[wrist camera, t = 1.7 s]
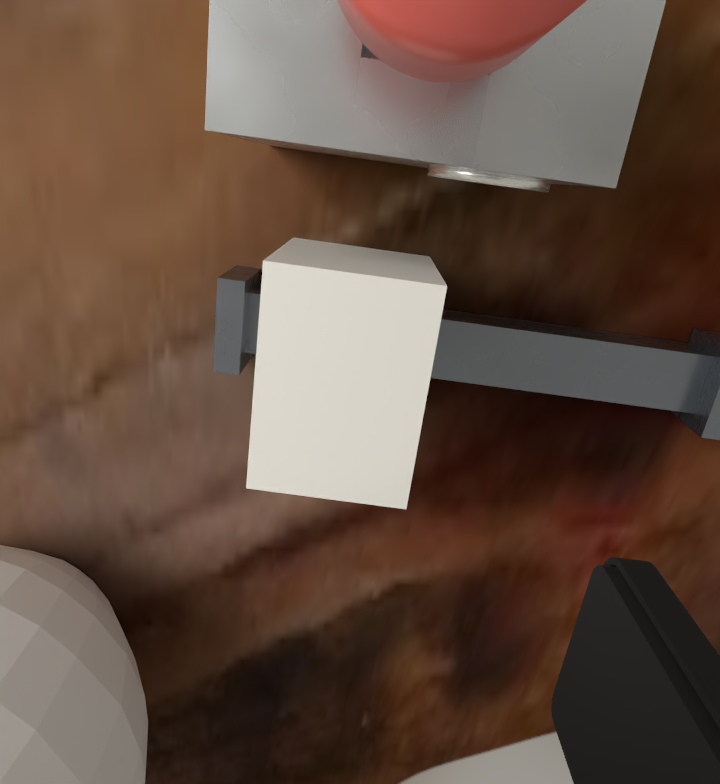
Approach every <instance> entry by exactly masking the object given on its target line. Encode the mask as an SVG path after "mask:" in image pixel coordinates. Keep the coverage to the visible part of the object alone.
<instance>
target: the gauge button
mask: <svg viewBox="0 0 720 784" xmlns="http://www.w3.org/2000/svg"><path fill="white" fill-rule="evenodd" d="M337 1H338V3H339V6H340V8H341V10H342V13H343V15H344V17H345V18H346V20H347V22H348V23H349V25H350V27H351V29H352V30H353V32H354V33H355V34H356V35H357V37H358V38H359V39H360V41H361V42H362V43H363V44H364V45H365V46H366V47H367V48H368V49H369V50H370V51H371V52H372V53H373V54H374V55H375V56H376V57H377V58H379V59H380V60H381V61H383V62H384V63H385V64H387V65H388V66H390V67H392V68H393V69H395V70H397V71H399V72H401V73H403V74H406V75H408V76H411V77H414V78H416V79H421V80H425V81H430V82H442V83H450V82H463V81H467V80H472V79H476V78H479V77H482V76H485V75H487V74H490V73H493V72H495V71H496V70H498V69H500V68H502V67H504V66H506V65H508V64H509V63H510V62H512V61H513V60H515V59H516V58H517V57H519V56H520V55H522V54H523V53H524V52H525V51H526V50H528V49H529V48H530V47H531V46H533V45H534V44H535V43H536V42H537V41H539V40H540V39H541V38H542V37H543V36H545V35H546V34H547V33H548V32H549V31H551V30H552V29H553V28H554V27H556V26H557V25H558V24H559V23H560V22H562V21H563V20H564V19H565V18H566V17H568V16H569V15H570V14H571V13H572V12H574V11H575V10H576V9H577V8H579V7H580V6H581V5H582V4H583V3H585V2H586V1H587V0H337Z"/></svg>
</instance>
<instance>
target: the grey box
mask: <svg viewBox="0 0 720 784" xmlns="http://www.w3.org/2000/svg"><path fill="white" fill-rule="evenodd" d="M665 3H666V0H587V1H586V2H585V3H583V4H582V5H581V6H580V7H579V8H577V9H576V10H575V11H574V12H572V13H571V14H570V15H569V16H568V17H566V18H565V19H564V20H563V21H562V22H560V23H559V24H558V25H557V26H556V27H554V28H553V29H552V30H551V31H549V32H548V33H547V34H546V35H545V36H543V37H542V38H541V39H540V40H539V41H537V42H536V43H535V44H534V45H533V46H531V47H530V48H529V49H528V50H526V51H525V52H524V53H523V54H522V55H520V56H519V57H517V58H516V59H515V60H513V61H512V62H510V63H509V64H508V65H506V66H504V67H502V68H500V69H498V70H496V71H495V72H493V73H490V74H487V75H485V76H482V77H479V78H476V79H472V80H467V81H463V82H450V83H442V82H430V81H425V80H421V79H416V78H414V77H411V76H408V75H406V74H403V73H401V72H399V71H397V70H395V69H393V68H392V67H390V66H388V65H387V64H385V63H384V62H383V61H381V60H380V59H379V58H377V57H376V56H375V55H374V54H373V53H372V52H371V51H370V50H369V49H368V48H367V47H366V46H365V45H364V44H363V43H362V42H361V41H360V39H359V38H358V37H357V35H356V34H355V33H354V32H353V30H352V29H351V27H350V25H349V23H348V22H347V20H346V18H345V17H344V15H343V13H342V10H341V8H340V6H339V3H338V1H337V0H210V5H209V31H208V58H207V85H206V111H205V130H207V131H211V132H215V133H219V134H223V135H228V136H232V137H236V138H240V139H244V140H248V141H253V142H257V143H261V144H265V145H269V146H276V147H283V148H290V149H297V150H304V151H311V152H318V153H325V154H332V155H339V156H346V157H354V158H361V159H368V160H375V161H382V162H389V163H396V164H403V165H410V166H417V167H424V168H428V174H427V176H432V177H439V178H446V179H452V180H459V181H466V182H473V183H481V184H488V185H495V186H502V187H509V188H516V189H524V190H531V191H538V192H546V193H549V189H550V184H561V185H575V186H590V187H604V188H616V186H617V182H618V178H619V175H620V171H621V167H622V164H623V160H624V156H625V152H626V149H627V145H628V141H629V137H630V134H631V130H632V126H633V122H634V119H635V115H636V111H637V107H638V104H639V100H640V96H641V93H642V89H643V85H644V81H645V78H646V74H647V70H648V66H649V63H650V59H651V55H652V51H653V48H654V44H655V40H656V37H657V33H658V29H659V25H660V22H661V18H662V14H663V10H664V7H665Z"/></svg>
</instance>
